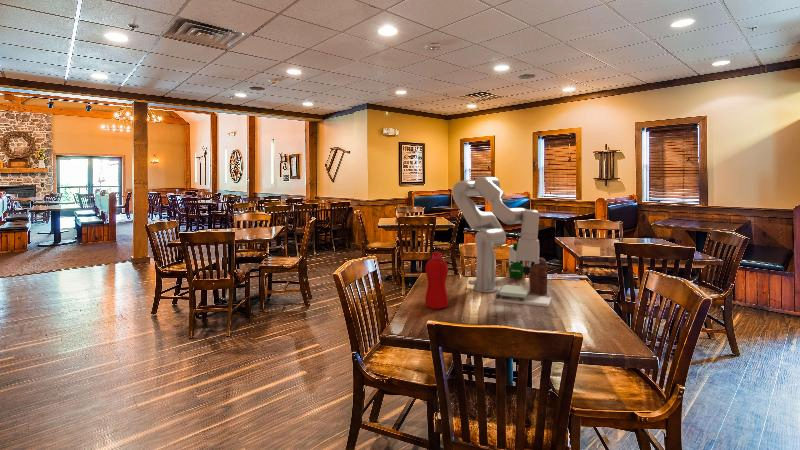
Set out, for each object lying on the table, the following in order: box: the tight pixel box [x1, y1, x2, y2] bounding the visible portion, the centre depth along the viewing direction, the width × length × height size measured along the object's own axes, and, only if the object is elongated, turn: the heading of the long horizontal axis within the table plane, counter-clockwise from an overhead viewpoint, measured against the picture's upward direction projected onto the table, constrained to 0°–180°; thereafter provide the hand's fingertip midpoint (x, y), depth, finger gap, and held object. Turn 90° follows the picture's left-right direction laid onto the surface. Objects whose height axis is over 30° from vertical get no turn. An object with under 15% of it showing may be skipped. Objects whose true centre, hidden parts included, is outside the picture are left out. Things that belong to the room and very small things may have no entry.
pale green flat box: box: [499, 284, 531, 300], centre depth 213 cm, size 12×14×3 cm
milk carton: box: [508, 242, 524, 279], centre depth 258 cm, size 9×9×20 cm
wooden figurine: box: [529, 256, 548, 296], centre depth 224 cm, size 12×6×18 cm, turn 18°
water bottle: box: [424, 251, 449, 310], centre depth 201 cm, size 9×11×25 cm
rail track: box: [494, 287, 552, 308], centre depth 212 cm, size 24×13×3 cm, turn 66°
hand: (526, 274), depth 210 cm, fingers closed
